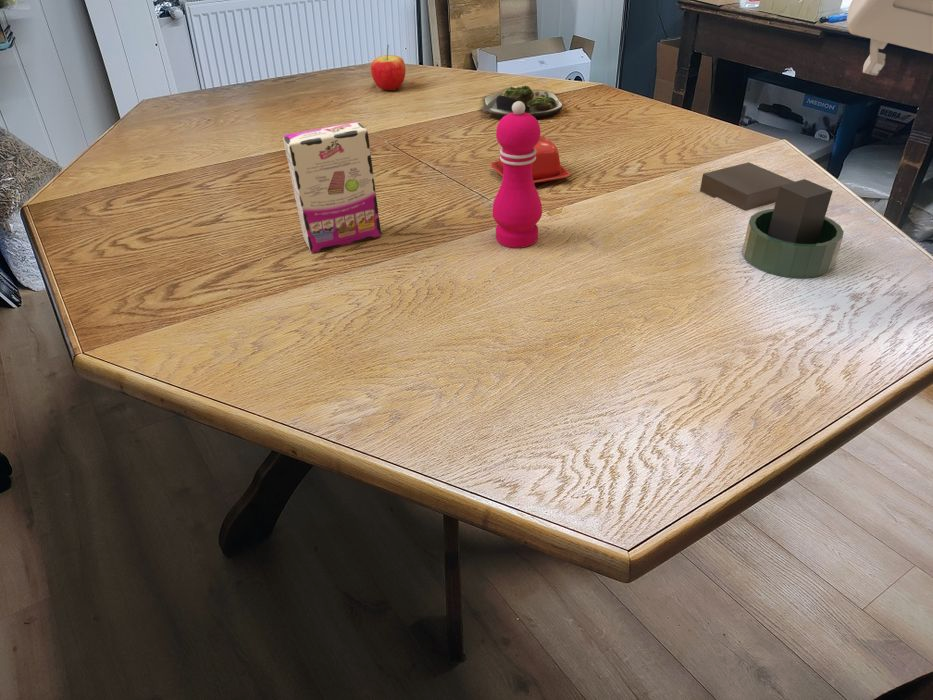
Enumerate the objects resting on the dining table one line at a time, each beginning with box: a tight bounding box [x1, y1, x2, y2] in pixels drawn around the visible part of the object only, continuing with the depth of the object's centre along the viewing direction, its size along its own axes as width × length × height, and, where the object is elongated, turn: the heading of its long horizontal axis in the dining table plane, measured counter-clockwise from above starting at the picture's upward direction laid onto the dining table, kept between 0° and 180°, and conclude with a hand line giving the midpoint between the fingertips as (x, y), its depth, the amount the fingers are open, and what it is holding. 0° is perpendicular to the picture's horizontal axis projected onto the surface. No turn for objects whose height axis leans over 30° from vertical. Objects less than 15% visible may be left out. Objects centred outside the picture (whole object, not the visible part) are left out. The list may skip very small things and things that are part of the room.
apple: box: [370, 44, 406, 91], centre depth 166 cm, size 8×8×10 cm
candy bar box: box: [282, 121, 382, 254], centre depth 99 cm, size 11×5×16 cm, turn 115°
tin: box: [741, 208, 844, 280], centre depth 93 cm, size 12×12×5 cm
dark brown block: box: [768, 178, 833, 244], centre depth 91 cm, size 4×4×10 cm
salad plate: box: [481, 84, 563, 121], centre depth 152 cm, size 19×18×5 cm
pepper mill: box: [491, 101, 543, 249], centre depth 96 cm, size 7×7×20 cm
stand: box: [699, 162, 796, 212], centre depth 111 cm, size 10×10×3 cm
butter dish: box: [490, 134, 571, 184], centre depth 119 cm, size 12×12×8 cm
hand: (912, 81), depth 76 cm, fingers open, 8 cm apart
